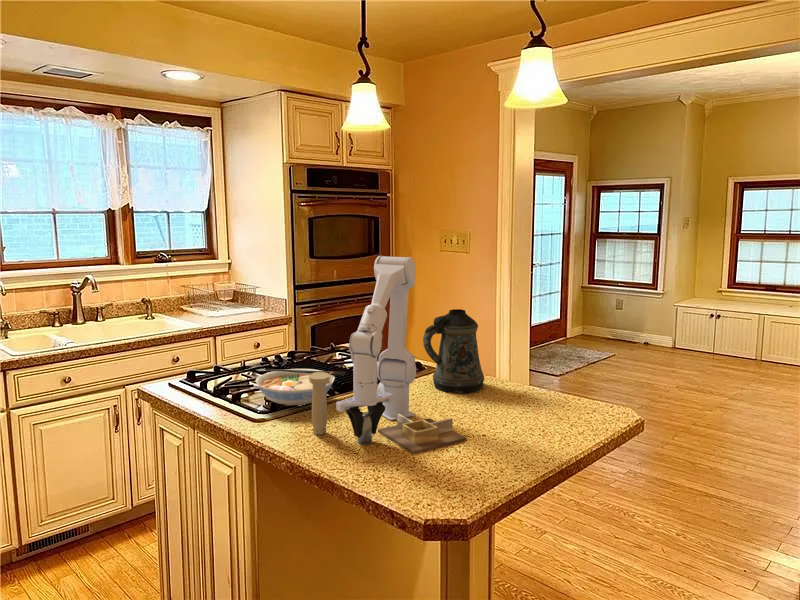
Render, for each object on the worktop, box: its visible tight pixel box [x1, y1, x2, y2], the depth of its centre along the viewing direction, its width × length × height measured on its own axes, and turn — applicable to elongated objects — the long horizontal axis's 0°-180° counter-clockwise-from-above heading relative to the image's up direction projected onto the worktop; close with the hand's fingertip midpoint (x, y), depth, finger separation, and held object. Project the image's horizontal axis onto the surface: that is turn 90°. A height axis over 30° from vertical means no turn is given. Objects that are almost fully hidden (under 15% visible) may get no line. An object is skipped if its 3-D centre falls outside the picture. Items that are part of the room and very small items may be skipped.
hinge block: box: [377, 414, 468, 455], centre depth 149 cm, size 16×16×4 cm
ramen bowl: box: [255, 368, 346, 406], centre depth 173 cm, size 25×23×8 cm
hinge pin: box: [357, 411, 373, 446], centre depth 145 cm, size 4×4×7 cm
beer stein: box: [422, 308, 485, 395], centre depth 190 cm, size 16×19×25 cm
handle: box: [309, 372, 329, 436], centre depth 150 cm, size 5×6×15 cm
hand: (365, 434), depth 145 cm, fingers closed on hinge pin, 4 cm apart
